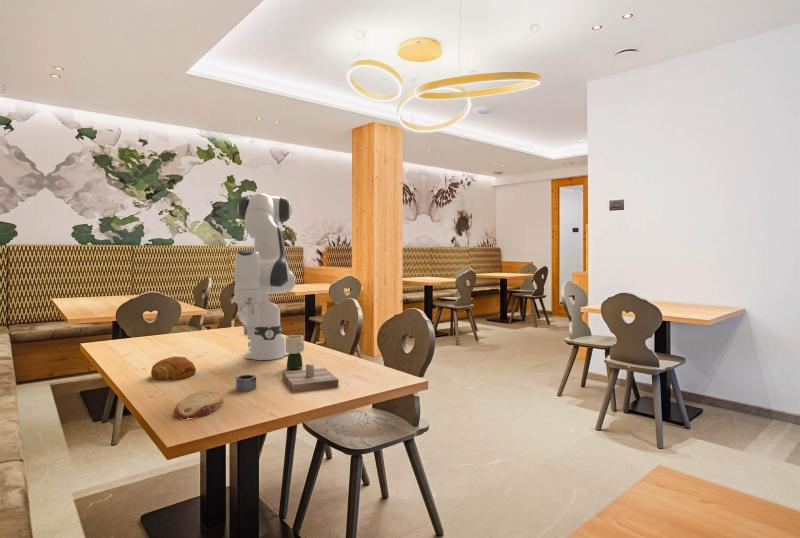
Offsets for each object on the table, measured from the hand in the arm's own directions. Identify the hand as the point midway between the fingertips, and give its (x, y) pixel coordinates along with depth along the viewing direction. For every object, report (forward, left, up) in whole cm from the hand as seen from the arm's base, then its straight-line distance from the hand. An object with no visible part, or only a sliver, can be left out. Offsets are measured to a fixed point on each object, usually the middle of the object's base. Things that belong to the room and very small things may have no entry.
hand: (248, 337), depth 163 cm
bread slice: (+13, -16, -19) cm, 28 cm away
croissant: (-29, -24, -18) cm, 41 cm away
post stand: (+1, +21, -18) cm, 28 cm away
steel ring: (0, -1, -18) cm, 18 cm away
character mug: (-21, +20, -18) cm, 34 cm away
